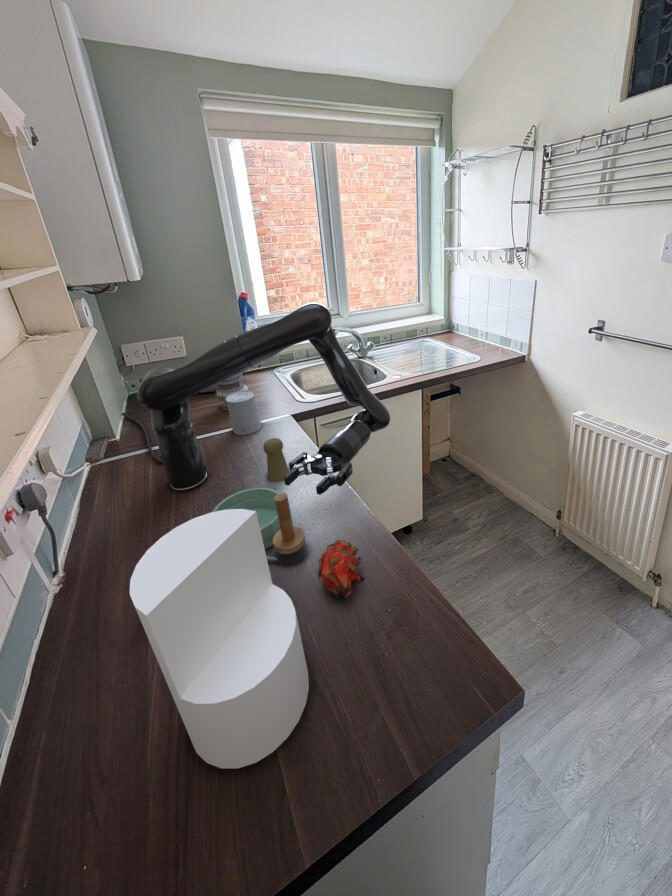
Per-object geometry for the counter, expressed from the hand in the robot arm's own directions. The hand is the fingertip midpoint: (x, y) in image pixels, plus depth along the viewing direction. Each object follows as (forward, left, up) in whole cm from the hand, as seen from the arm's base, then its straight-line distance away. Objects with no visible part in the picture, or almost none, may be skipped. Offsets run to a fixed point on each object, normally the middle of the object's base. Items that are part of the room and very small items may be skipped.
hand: (301, 486), depth 86 cm
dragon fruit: (+14, -8, -13) cm, 21 cm away
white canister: (-51, +34, -13) cm, 63 cm away
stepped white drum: (+12, -31, -13) cm, 36 cm away
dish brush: (0, -6, -13) cm, 14 cm away
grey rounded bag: (-91, +59, -13) cm, 109 cm away
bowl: (-13, -4, -13) cm, 19 cm away
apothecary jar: (-70, +47, -13) cm, 85 cm away
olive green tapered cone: (-22, +16, -13) cm, 30 cm away
